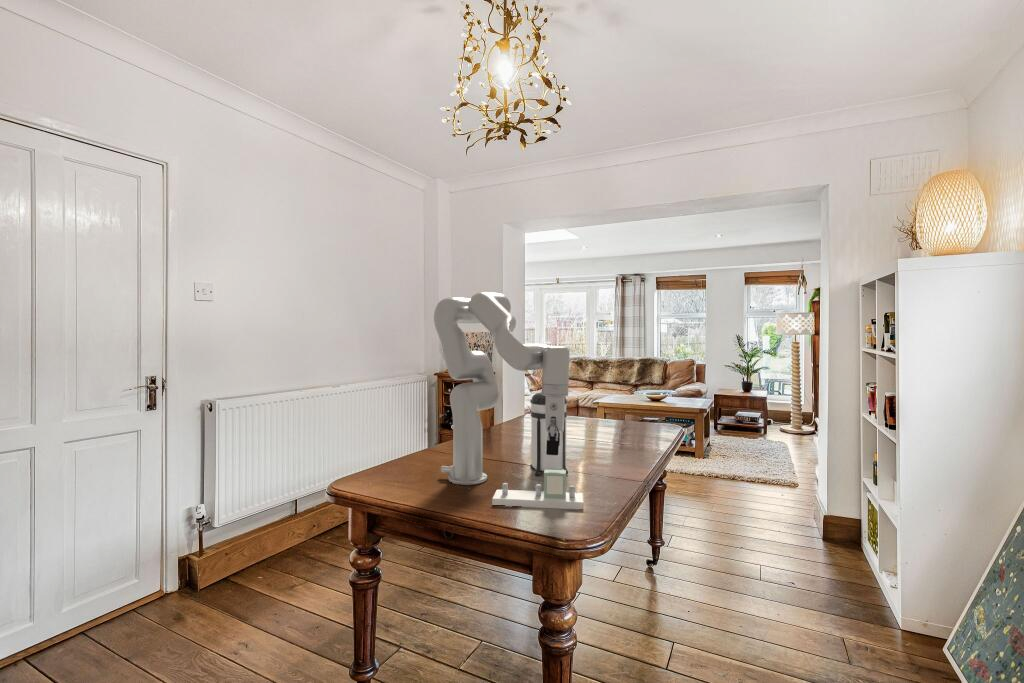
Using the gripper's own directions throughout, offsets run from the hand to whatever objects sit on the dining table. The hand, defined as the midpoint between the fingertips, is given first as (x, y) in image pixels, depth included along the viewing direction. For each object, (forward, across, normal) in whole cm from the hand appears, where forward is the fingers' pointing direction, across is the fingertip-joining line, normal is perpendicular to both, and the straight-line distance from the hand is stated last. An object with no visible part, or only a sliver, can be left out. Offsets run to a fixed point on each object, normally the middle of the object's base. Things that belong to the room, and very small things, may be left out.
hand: (553, 450), depth 141 cm
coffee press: (+16, +32, +3) cm, 36 cm away
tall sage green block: (+13, 0, -1) cm, 13 cm away
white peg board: (+15, -1, +4) cm, 16 cm away
